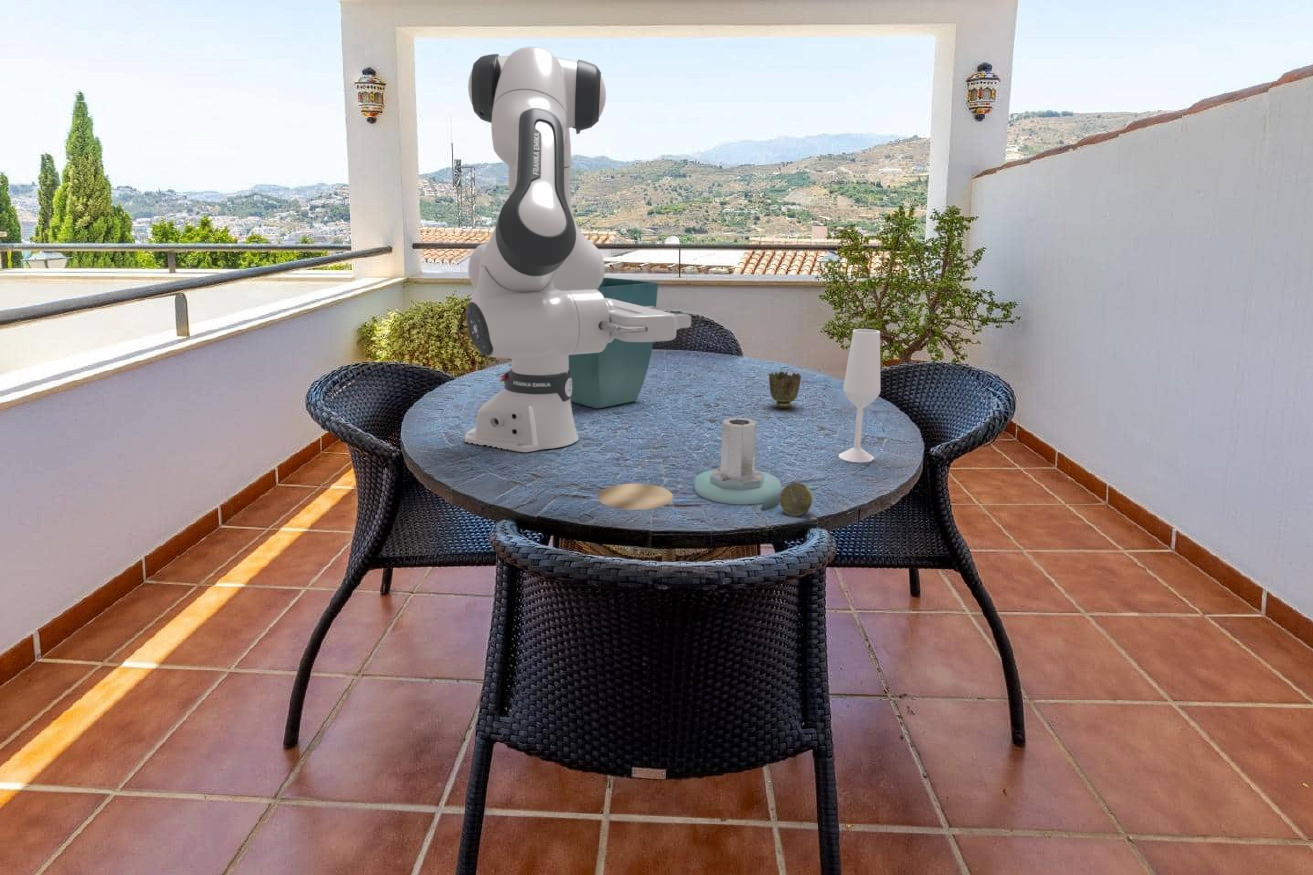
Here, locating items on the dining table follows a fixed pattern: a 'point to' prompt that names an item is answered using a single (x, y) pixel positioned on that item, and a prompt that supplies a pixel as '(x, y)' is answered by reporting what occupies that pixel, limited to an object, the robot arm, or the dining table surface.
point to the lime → (796, 499)
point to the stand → (635, 496)
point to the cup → (784, 388)
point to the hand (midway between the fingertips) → (672, 316)
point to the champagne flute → (862, 383)
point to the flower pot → (614, 355)
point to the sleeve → (738, 456)
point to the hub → (740, 491)
